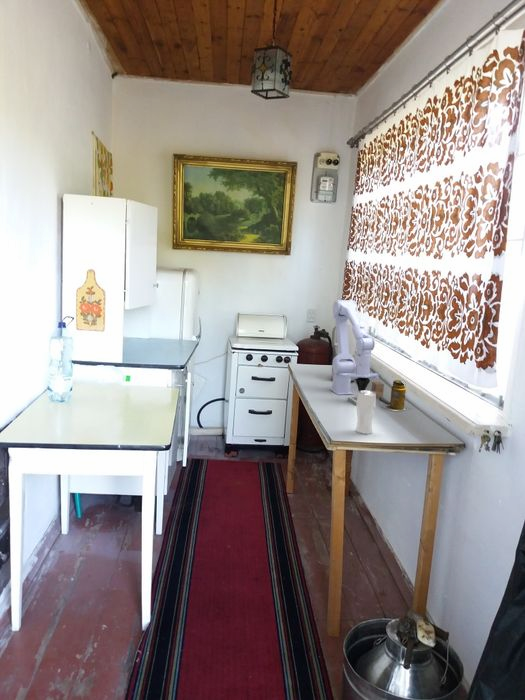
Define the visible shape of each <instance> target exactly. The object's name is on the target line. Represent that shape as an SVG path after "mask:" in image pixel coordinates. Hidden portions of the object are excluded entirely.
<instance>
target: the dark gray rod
mask: <svg viewBox="0 0 525 700" xmlns="http://www.w3.org/2000/svg"><path fill="white" fill-rule="evenodd" d="M378 400H380V401H381V402H384V403H385V404H387V405H390V401H389V400H387V399H385V398H384V397H383V398H382V397H379V399H378Z"/></svg>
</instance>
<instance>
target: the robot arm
mask: <svg viewBox="0 0 525 700" xmlns="http://www.w3.org/2000/svg"><path fill="white" fill-rule="evenodd" d="M357 310H358V304H357V301H356V300H354V299H351V300H347V299H346V300H345V299H344V300H342V299H340V300H339V299H336V300H335V301H334V302H333V305H332V313H333V318H334V319H335V327H336V329H337V343H338V355H337V356H336V357H335V356H334V357H335V358H334V357H333V359H332V363H333V372H334V373H335V374H334V376H333V380H332V385H331V386H332V387H331V388H330V391H332V392H334V394H336V395H338V396H339V395H340V396H342V395H354V392H352V391H351V386H352V385H351V382H352V381H351V379H355V381H354V382H355V383H356V386H357V389H358V392H359V391H366V390H367V387H368V385H369V384H370V382H371V379H379V373H376V372H374V373H372V372H370V371H371V370H370V369H371V362H372V361H371V360H372V359H371V358H372V351H373V350H374V348H375V346H376V345H375V339H374V338H373V336H371V335H369V334H368V331H367V329H366V327H365V325H364V324H362V323H361V321H360V319H359V316H358V313H357V312H358V311H357ZM347 320H349V321H350V322H351V324H352V326H353V328H352V332H353V334H354V336H355V338H356V341H357V342H356V348H355V349H356V354H357V360H356V364H355V362H354V358H355V356H354V357H353V356H351V355H350V354H349V346H348V332H347ZM339 360H347V361H339ZM354 372H355V373H354Z"/></svg>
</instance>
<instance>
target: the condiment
mask: <svg viewBox="0 0 525 700" xmlns="http://www.w3.org/2000/svg"><path fill="white" fill-rule="evenodd" d="M401 381H402V380H399V379H398V380H397V379H396V380H393V381H392V386H391V390H390V391H391V392H390V401H389V402H390V404H389V405H383V406H382V407H383V408H384V409H387V410H389V411H392V412H399V411H404V410H405V411H406V410H407V409H405V408H406V407H405V404H406V403H405V400H406V392H407V389H406V385H405V386H404V384H403V383H402V382H401Z"/></svg>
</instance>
